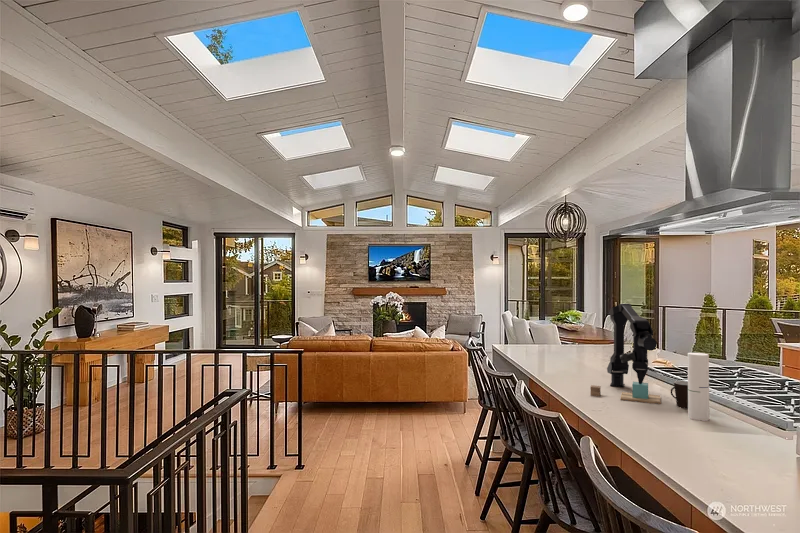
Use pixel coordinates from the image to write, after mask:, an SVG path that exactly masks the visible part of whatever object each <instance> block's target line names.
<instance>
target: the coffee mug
mask: <svg viewBox="0 0 800 533" xmlns="http://www.w3.org/2000/svg"><path fill="white" fill-rule="evenodd" d="M673 391H674V393H673ZM670 394H671V396H672V397H673V398H674V399H675V401H676V407H677V406H678V407H677V408H680V407H681V408H680V409H686V408H687V410H688V380H687V381H685V380H676V381H673V387H671V389H670Z"/></svg>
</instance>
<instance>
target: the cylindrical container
mask: <svg viewBox="0 0 800 533" xmlns="http://www.w3.org/2000/svg"><path fill="white" fill-rule="evenodd" d="M709 358H710V356H709V353H704V352H687V382H688V409H687V418H688V419H690V420H695V421H700V420H702V422H703V421H705V422H707V421H709V420H710V363H709V362H710V361H709V360H710V359H709Z"/></svg>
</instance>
